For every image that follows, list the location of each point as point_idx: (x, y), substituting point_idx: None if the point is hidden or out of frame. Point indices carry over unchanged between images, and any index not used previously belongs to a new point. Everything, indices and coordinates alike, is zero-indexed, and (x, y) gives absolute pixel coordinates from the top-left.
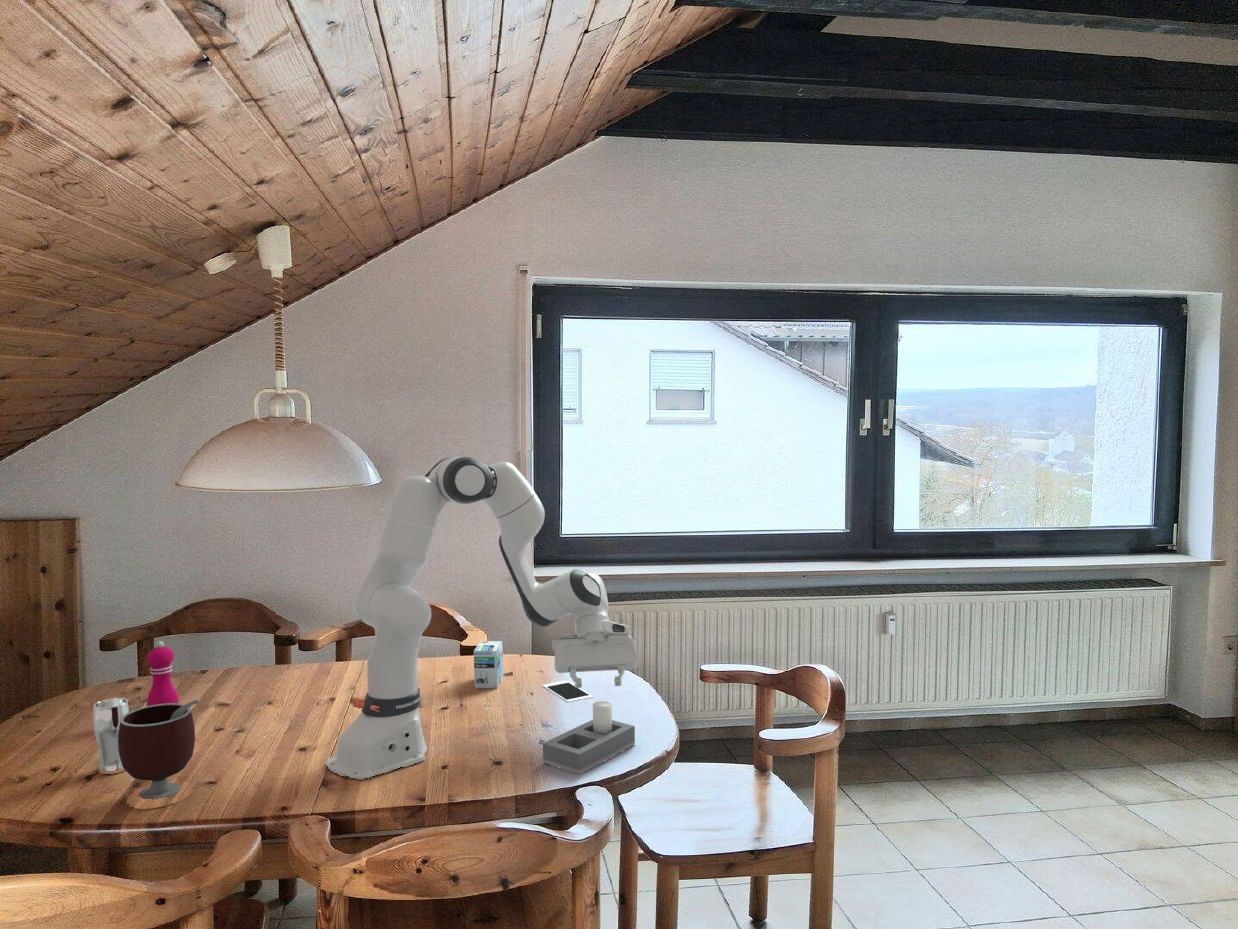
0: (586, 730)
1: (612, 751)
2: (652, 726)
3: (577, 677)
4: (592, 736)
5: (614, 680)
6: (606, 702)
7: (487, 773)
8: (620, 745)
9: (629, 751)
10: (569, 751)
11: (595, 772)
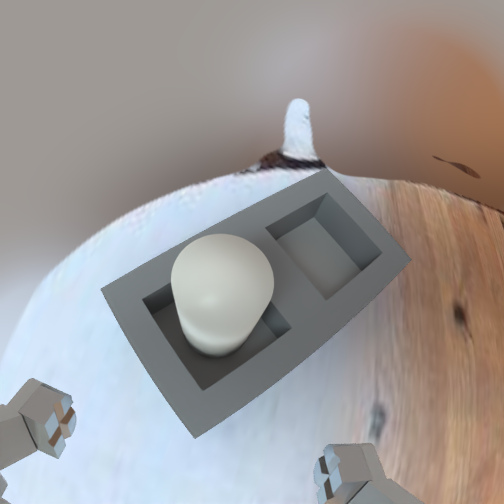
0: (281, 313)
1: None
2: None
3: (373, 485)
4: (273, 254)
5: (59, 444)
6: (189, 300)
7: (466, 272)
8: None
9: None
10: (349, 191)
11: None
